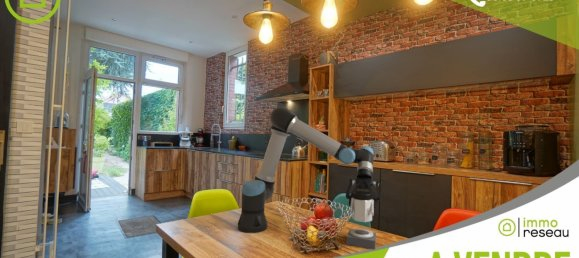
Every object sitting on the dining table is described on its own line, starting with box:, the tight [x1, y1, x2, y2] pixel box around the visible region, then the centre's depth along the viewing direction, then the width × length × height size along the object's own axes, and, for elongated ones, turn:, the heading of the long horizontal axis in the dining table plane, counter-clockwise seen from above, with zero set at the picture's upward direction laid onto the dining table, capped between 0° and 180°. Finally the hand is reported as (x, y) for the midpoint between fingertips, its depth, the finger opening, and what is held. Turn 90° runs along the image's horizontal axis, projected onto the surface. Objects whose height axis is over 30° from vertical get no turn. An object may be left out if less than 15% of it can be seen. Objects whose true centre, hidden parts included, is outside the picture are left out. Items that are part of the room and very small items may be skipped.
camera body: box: [345, 228, 377, 250], centre depth 122 cm, size 12×11×4 cm
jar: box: [351, 190, 373, 223], centre depth 122 cm, size 9×8×12 cm
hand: (361, 212), depth 119 cm, fingers closed on jar, 8 cm apart
